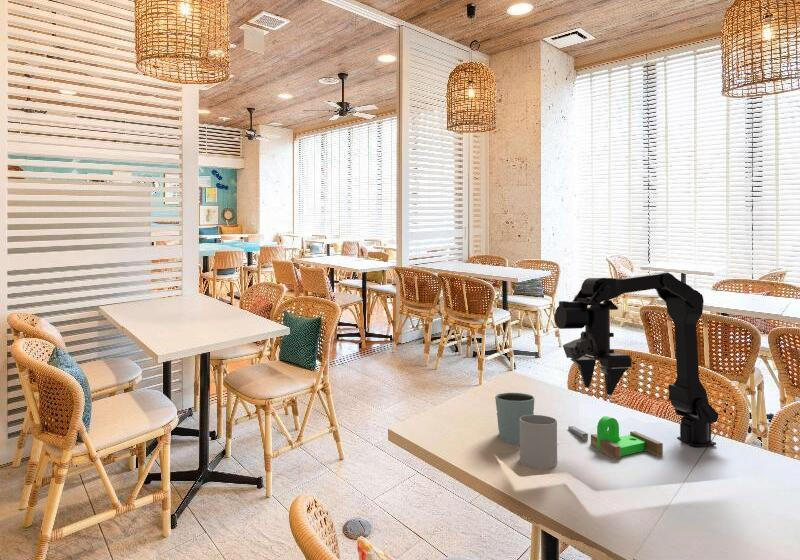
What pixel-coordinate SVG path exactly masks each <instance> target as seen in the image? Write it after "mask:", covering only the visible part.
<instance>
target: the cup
mask: <svg viewBox="0 0 800 560" xmlns="http://www.w3.org/2000/svg"><path fill="white" fill-rule="evenodd" d="M519 461H520V464H522V465H523V466H525V467H529V468H532V469H538V470H540V469H541V470H546V469H553V468H556V466H557V465H558V421H557V419H556V418H555V417H553V416H552V417H551V416H549V415H542V414H541V415H540V414H534V415H526V416H522V417H520V445H519Z"/></svg>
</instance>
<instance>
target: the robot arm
mask: <svg viewBox="0 0 800 560" xmlns="http://www.w3.org/2000/svg"><path fill="white" fill-rule="evenodd" d="M648 290H649V291H650V290H655V291H656V294H657V295H658V297H659V298H660V299H661V300H663V302H665V305H666V309H667V314H668V315H669V317H670V319H671V320H672V322H673V324H674V337H675V338H674V340H675V341H674V342H675V362H676V363H675V364H676V379H675V380H674V382H673V384H668V387H667V388H668V401H670V404H671V406H672V407H673V408H674V411H675V414H676V415H677V416H680V423H679V430H680V431H679V434H680V435H679V436H676V439H678V440H679V441H681V442H682V443H685V444H688V445H690V446H693V447H702V446H703V447H705V446H717V442H716V441H713V440H712V424H713V423H717V422H718V419H719V413H718V412H717V411H716V409H714V408H713V407H712V405H711V404H710V403H709V398H708V393H707V390H706V388H705V387H704V385H703V383H702V382H701V380H700V372H699V370H700V369H699V351H698V350H699V349H698V330H697V329H698V328H697V327H698V326H697V324H698V322H699V320H700V318H701V316H702V315H703V311H704V301H705V300H704V296H703V294H702V293H701V292H700V291H699V290H696V289H695V288H693V287H692V286H691V285H689V284H687V283H685V282H683V281H682V280H679V279H678V278H677V277H675V275H673V274H672V273H670V272H666V271H665V272H654V273H650V274H643V275H638V276H636V275H635V276H630V277H623V278H617V277H615V278H614V277H589V278H586V279H584V280H583V282H582V284H581V287H580V290H579V291H578V293H576V296H575V297H574V298H573V300H572V301H568V300H567V301H565V300H559V302H558V306H557V308H556V310H555V313H554V314H553V318H554V319H553V320H554V324H555V326H556V327H557V328H558V329H560V330H564V329H565V330H568V329H572V330H573V329H575V330H577V329H583V328H584V331H581V333H580V337H579V338H577V339H574V340H572V341H569V342H566V343H564V344H563V345H562V348H563V350H564V354H565V356H566V358H567V359H570V361H571V362H573V363H574V364H575V365H576V366H577V368H578V371H579V372H580V375H581V379H582V382H583V386H584V387H585V388H590V387H591V383H592V379H593V376H594V370H595V367H596V363H597V361H599V363H600V366H599V369H600V370H601V371H602V373H604V382H605V383H604V384H605V392H606V396H612V395H613V393H614V391H615V389H616V387H617V386H618V384H619V382H620V380H621V378H622V377H623V375H624V374H625V372H626V371H628V370H629V368H632V367H633V359H632V357H631V356H630V355H629V354H625V353H620V352H615V350H614V349H613V348H611V342H610V341H611V338H614V335H615V334H614V332H611V314H610V313H611V311H617V310H619V306H617V305H616V304H615V303H614V302H613V301H612V300H613V299H616V298H618V297H619V296H621V295H624V294H627V293H628V294H629V293H635V292H642V291H648Z"/></svg>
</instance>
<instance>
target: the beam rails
mask: <svg viewBox="0 0 800 560" xmlns="http://www.w3.org/2000/svg"><path fill="white" fill-rule="evenodd" d="M629 433H630V434H629V435H632V436H634V437H636V438H639V439H641V440H643V441H645V450H644V451H646V452H648V453H650V454H653V455H654V456H658V457H663V456H664V455H663V453H664V451H663V449H664V447H663V446H664V445H663V442H661V441H658V440H657V439H653V438H652V437H649V436H646V435H645V434H642V433H641V432H638V431H632V430H631V431H629ZM590 445H591V446H593V447H594V448H595V449H596V450H597V433H593V434H592V433H591V434H590ZM598 451H599V452H601V453H603V454H605V455H606V456H608V457H610V458H612V459H613V460H615V461H616V460H621V459H622V458H621V457H622V456H621V446H619V445H617V444H615V443H613V442H611V441H609V440H601V439H600V450H598Z"/></svg>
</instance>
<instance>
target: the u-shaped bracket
mask: <svg viewBox="0 0 800 560" xmlns="http://www.w3.org/2000/svg"><path fill="white" fill-rule="evenodd" d="M567 428H568V430H569V432H571V433H572V434H574V436H576V437H577V438H578V439H580V440H581V441H585V442H586V441H589V433H588V432H586V431H584V430H582V429H580V428H578V427H576V426H574V425H572V426H571V425H568V427H567Z"/></svg>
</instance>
